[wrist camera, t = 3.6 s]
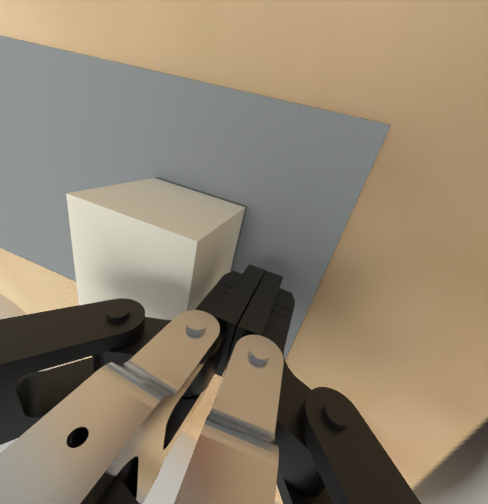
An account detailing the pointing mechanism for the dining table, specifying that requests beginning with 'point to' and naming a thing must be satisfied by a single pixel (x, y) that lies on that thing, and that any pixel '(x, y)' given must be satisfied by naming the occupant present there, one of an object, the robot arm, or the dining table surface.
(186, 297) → the cube
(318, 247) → the mat
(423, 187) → the dining table surface
